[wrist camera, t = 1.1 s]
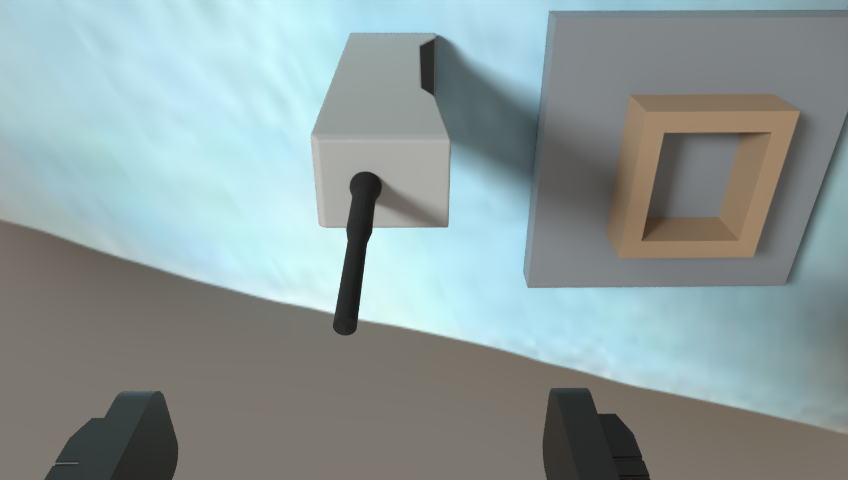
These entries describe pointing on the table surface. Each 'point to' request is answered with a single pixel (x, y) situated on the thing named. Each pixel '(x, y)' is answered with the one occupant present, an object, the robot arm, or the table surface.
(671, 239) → the square socket base
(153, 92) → the table surface
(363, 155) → the vintage mobile phone
